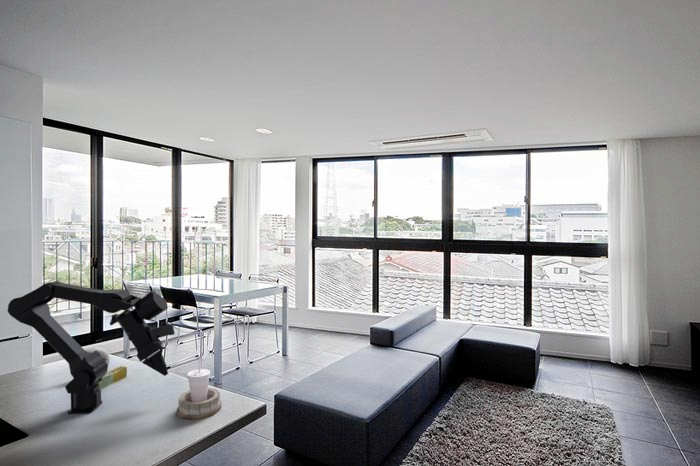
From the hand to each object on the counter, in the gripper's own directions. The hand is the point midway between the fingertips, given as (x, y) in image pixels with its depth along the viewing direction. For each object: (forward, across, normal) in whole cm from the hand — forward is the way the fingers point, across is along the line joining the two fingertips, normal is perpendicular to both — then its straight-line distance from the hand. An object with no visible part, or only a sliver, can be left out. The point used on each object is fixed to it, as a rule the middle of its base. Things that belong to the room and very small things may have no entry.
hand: (166, 372), depth 116 cm
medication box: (-5, +28, +17) cm, 33 cm away
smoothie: (+13, -4, -2) cm, 14 cm away
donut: (-10, +37, +21) cm, 43 cm away
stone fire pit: (+14, -3, -2) cm, 14 cm away
